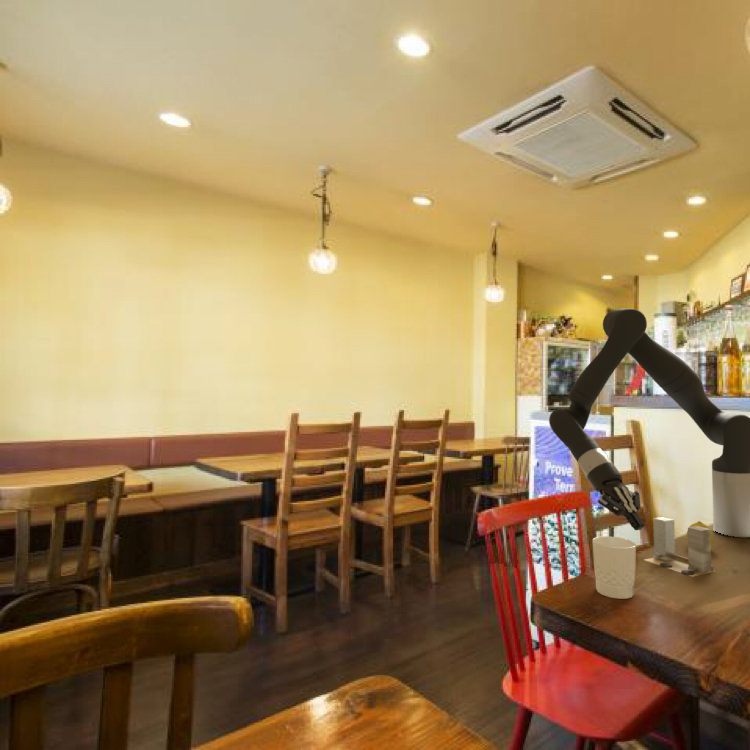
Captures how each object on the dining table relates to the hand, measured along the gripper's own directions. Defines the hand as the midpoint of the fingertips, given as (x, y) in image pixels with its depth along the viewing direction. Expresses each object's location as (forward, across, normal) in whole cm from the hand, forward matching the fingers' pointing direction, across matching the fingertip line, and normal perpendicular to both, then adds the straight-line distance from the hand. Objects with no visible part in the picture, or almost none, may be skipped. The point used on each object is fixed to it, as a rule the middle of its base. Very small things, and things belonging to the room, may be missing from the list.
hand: (640, 528), depth 124 cm
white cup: (+14, -24, -4) cm, 28 cm away
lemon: (+8, +14, +1) cm, 17 cm away
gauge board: (+12, -1, -2) cm, 12 cm away
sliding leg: (+8, 0, 0) cm, 8 cm away
